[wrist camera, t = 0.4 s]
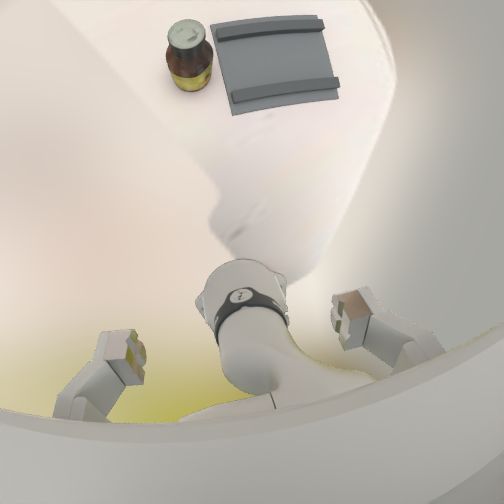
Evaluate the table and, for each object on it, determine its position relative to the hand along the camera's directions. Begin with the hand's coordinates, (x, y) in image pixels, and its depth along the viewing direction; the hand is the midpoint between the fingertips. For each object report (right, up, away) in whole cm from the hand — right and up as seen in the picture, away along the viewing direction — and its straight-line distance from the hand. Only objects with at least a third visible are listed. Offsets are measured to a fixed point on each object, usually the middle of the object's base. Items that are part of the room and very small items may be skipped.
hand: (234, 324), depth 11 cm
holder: (+5, +37, +31) cm, 48 cm away
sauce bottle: (-9, +33, +30) cm, 45 cm away
